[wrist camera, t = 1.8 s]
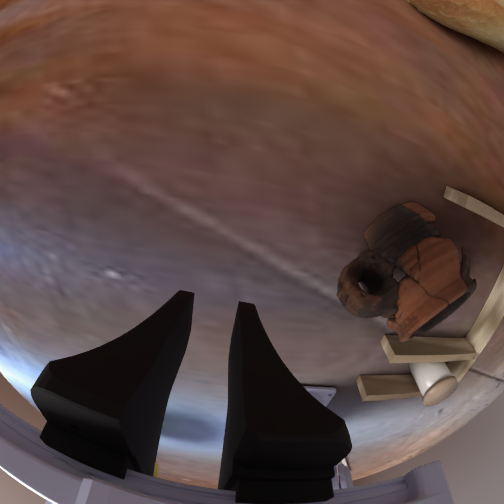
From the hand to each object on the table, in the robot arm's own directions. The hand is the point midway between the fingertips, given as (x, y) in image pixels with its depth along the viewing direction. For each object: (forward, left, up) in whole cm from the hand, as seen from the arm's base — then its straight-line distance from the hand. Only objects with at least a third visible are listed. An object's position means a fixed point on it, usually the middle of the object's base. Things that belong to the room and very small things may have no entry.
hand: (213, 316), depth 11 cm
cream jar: (-10, -24, -9) cm, 28 cm away
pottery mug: (+1, -13, -10) cm, 16 cm away
